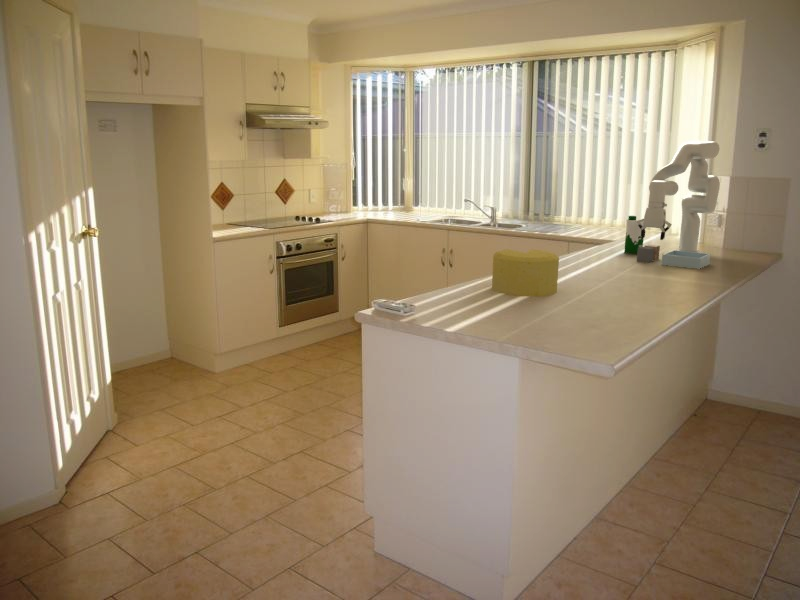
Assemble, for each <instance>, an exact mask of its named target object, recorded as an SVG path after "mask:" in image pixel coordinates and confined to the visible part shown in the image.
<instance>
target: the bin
mask: <svg viewBox="0 0 800 600" xmlns="http://www.w3.org/2000/svg"><path fill="white" fill-rule="evenodd" d="M710 263H711V253H705V252H704V253H703V252H702V253H701V252H700V253H696V252H686V251H677V250H676V249H674V250H671V251H667V252H665V253H662V256H661V266H666V265H668V266H667V267H675V266H679V267H678V268H683V267H687V268H686V269H691V268H697V269H696V270H701V269H703V268H705V267H707V266H710ZM704 266H705V267H704ZM702 267H703V268H702ZM700 268H701V269H700Z"/></svg>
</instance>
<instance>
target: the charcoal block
mask: <svg viewBox="0 0 800 600" xmlns="http://www.w3.org/2000/svg"><path fill="white" fill-rule="evenodd" d="M653 250H654V248H651V247H644V246H643V247H639V248H638V252H637V254H636V262H639V263H646V262H647V264H648V263H651V261H652V262H653V261H654V260H653Z"/></svg>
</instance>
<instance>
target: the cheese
mask: <svg viewBox="0 0 800 600" xmlns="http://www.w3.org/2000/svg"><path fill="white" fill-rule="evenodd" d="M492 257H493V258H492V259H493V260H492V274H491V275H492V278H491V281H492V282H491V289H492V290H493V291H495V292H497V293H499V294H504V295H508V296H517V297H548V296H552V295H555V294H557V292H558V280H559V279H558V278H559V277H558V276H559V266H560V265H559V264H560V263H559V262H560V257H559V256H558V255H557V254H556V253H554V252H552V251H548V250H541V249H540V250H539V249H532V248H531V249H530V250H529V251H527V252H522V251H518V250H514V249H502V250H500V251H496V252H495V253H493V256H492Z"/></svg>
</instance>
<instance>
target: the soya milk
mask: <svg viewBox="0 0 800 600" xmlns="http://www.w3.org/2000/svg"><path fill="white" fill-rule="evenodd" d="M639 220H640V219H637V216H636V215H628V217H627V219H626V225H625V226H626V231H625V239H624V252H623V253H624V254H632V255H637V252H638V248H639V247H644V238H645V237H644V238H641V237H642V236H641V229H640V228H639V226H638V223H637V221H639ZM643 222H644V221H643ZM643 222H641V225H642V226H644V225H643Z"/></svg>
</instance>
